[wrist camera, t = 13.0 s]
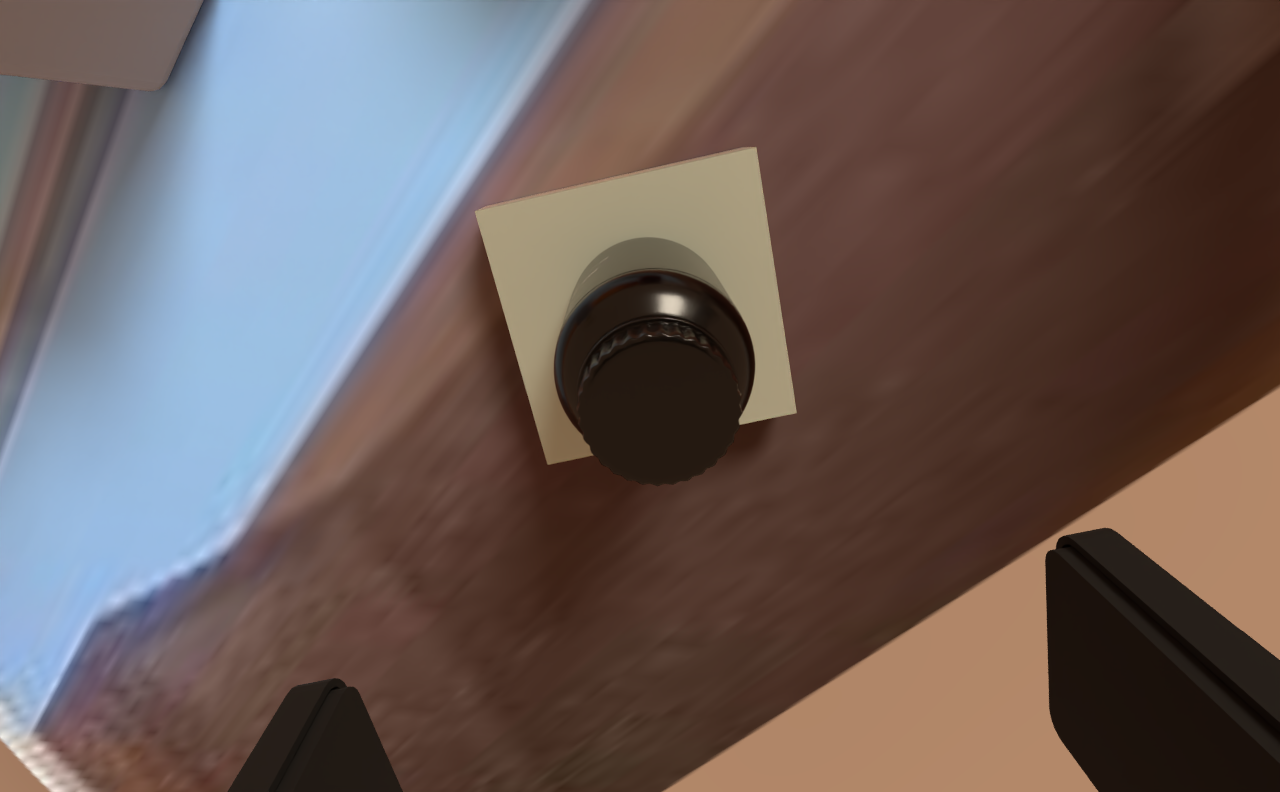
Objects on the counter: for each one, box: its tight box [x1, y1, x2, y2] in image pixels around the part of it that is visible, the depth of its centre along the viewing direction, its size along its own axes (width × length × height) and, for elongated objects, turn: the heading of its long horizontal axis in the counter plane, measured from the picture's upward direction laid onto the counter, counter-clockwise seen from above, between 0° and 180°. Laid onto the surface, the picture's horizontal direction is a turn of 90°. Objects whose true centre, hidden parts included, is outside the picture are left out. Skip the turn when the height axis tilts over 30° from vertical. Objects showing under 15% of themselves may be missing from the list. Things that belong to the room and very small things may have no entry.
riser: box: [475, 147, 797, 465], centre depth 33 cm, size 12×12×3 cm
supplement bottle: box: [554, 237, 755, 486], centre depth 26 cm, size 7×7×12 cm
